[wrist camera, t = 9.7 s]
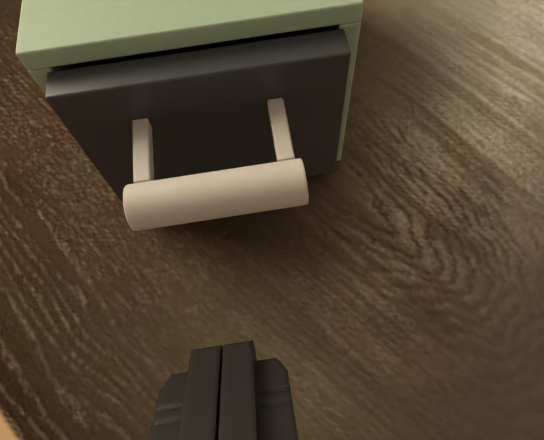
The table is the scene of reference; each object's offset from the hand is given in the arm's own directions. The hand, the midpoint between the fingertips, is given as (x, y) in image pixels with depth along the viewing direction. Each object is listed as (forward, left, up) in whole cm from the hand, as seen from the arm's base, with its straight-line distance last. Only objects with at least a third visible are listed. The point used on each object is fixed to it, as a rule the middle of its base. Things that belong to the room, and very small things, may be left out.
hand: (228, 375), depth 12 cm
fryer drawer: (-7, +12, -8) cm, 16 cm away
